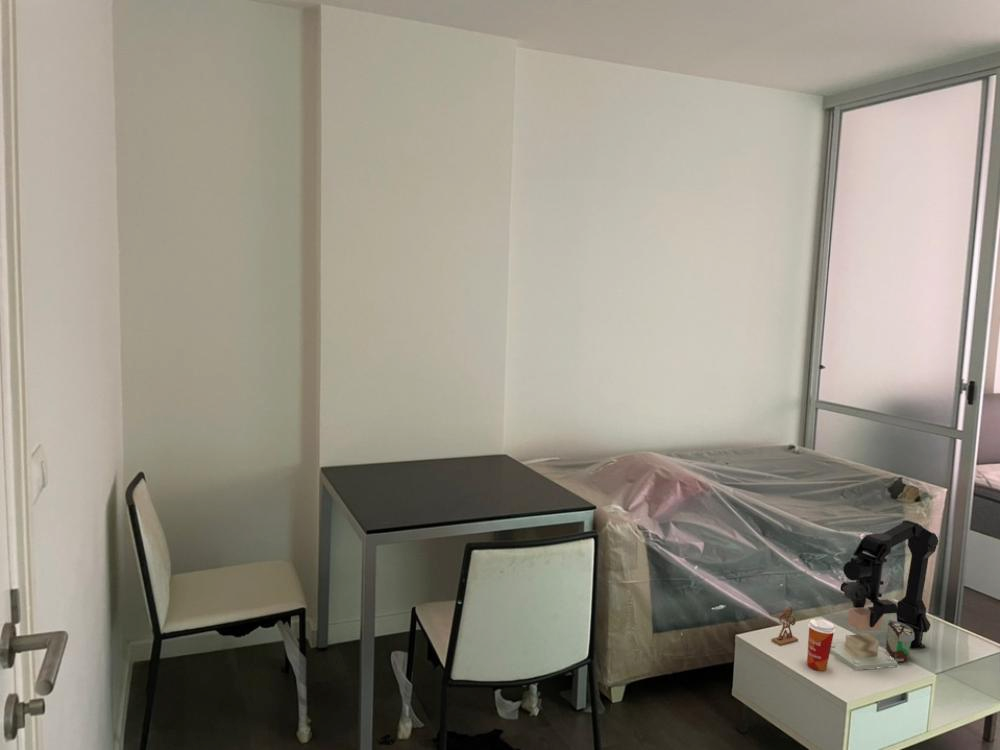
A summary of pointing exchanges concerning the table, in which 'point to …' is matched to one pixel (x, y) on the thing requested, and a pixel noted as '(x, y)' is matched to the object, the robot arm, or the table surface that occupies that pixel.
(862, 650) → the birch brick
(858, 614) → the terracotta brick
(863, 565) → the robot arm
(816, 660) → the paper cup
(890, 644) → the food container
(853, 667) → the build plate
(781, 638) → the brown figurine
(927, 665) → the table surface
